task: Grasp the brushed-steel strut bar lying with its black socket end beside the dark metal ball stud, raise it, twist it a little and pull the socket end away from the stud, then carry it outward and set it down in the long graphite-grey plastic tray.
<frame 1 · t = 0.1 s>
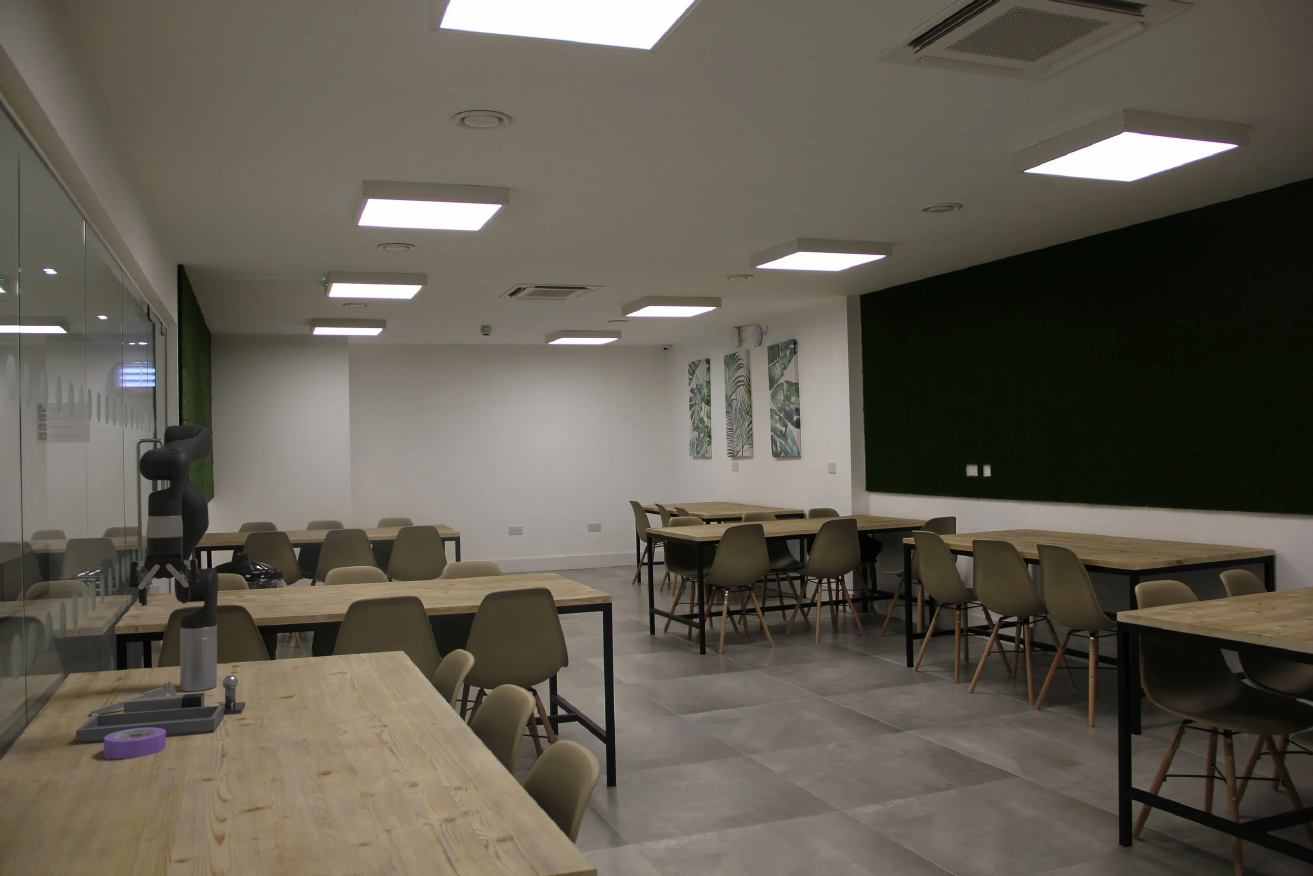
hand: (164, 604, 219), 29 cm above the table, tool pointing down, fingers open, 8 cm apart
tray: (153, 730, 217), on the table
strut: (162, 716, 230), on the table
ball stud: (230, 710, 234), on the table
masking tape: (135, 752, 201), on the table
caliper: (131, 711, 237), on the table
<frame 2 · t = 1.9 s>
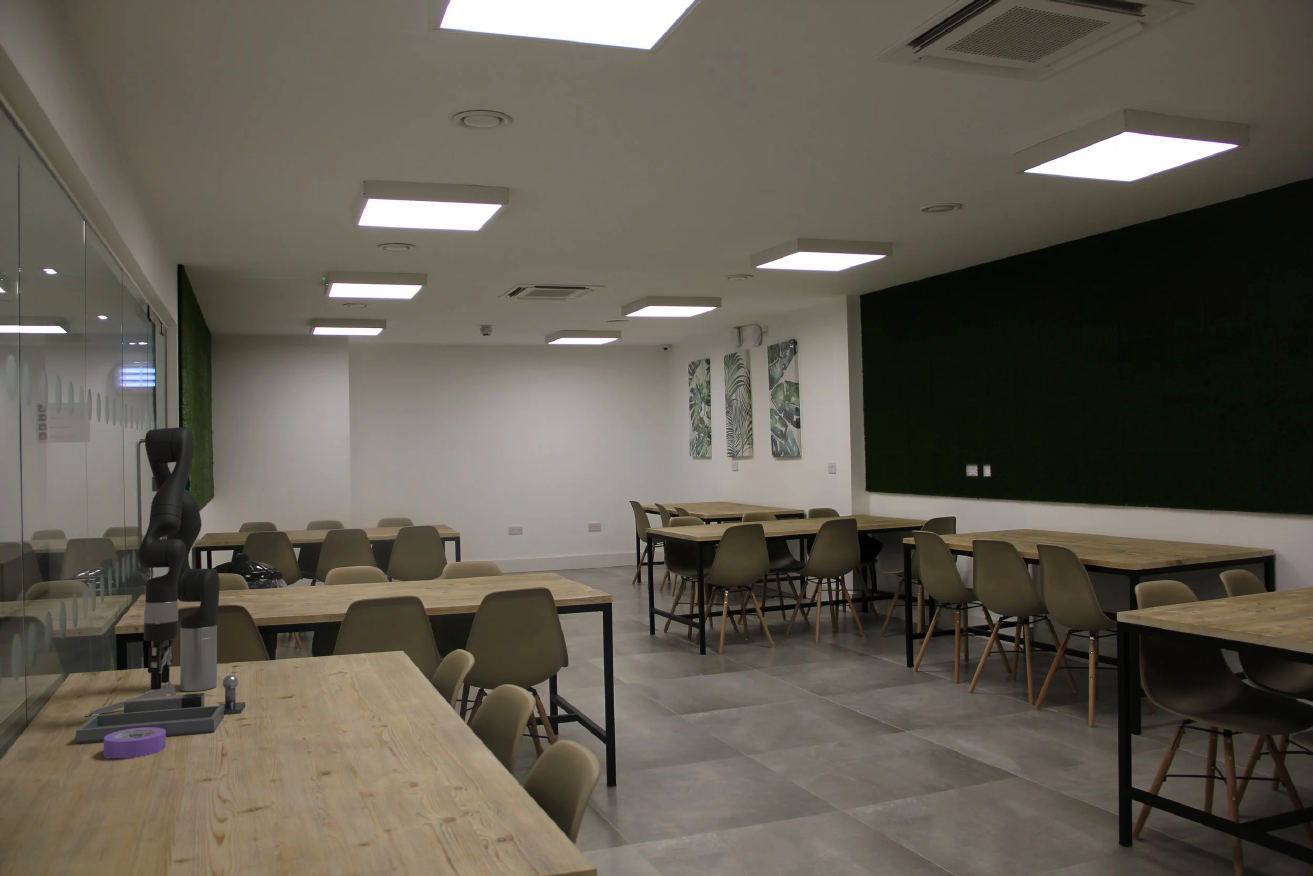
hand: (160, 686, 230), 7 cm above the table, tool pointing down, fingers open, 8 cm apart
nothing on the table moved.
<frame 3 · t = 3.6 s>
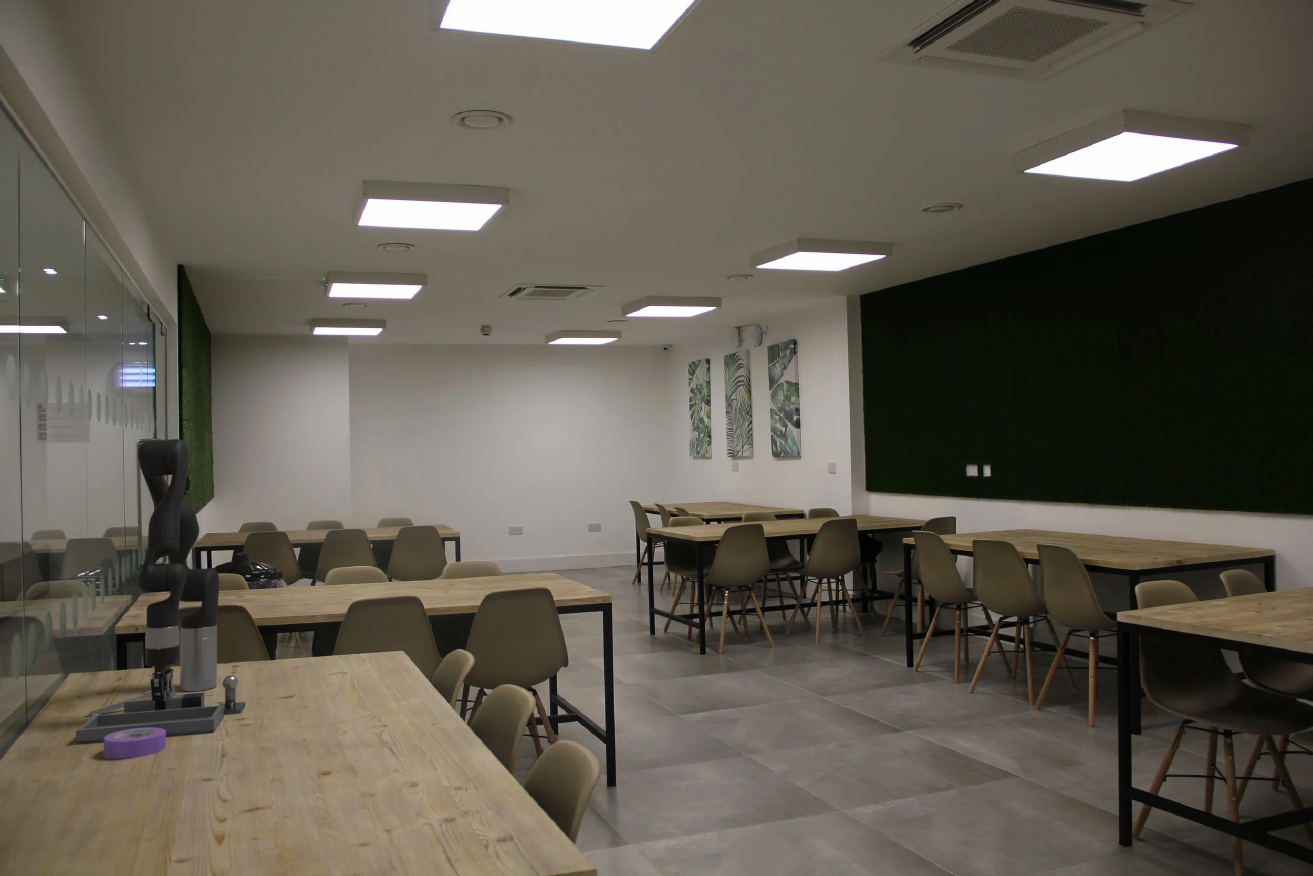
hand: (162, 714, 230), 0 cm above the table, tool pointing down, fingers closed on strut, 3 cm apart
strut: (161, 716, 230), on the table, touching gripper
everything else where it was.
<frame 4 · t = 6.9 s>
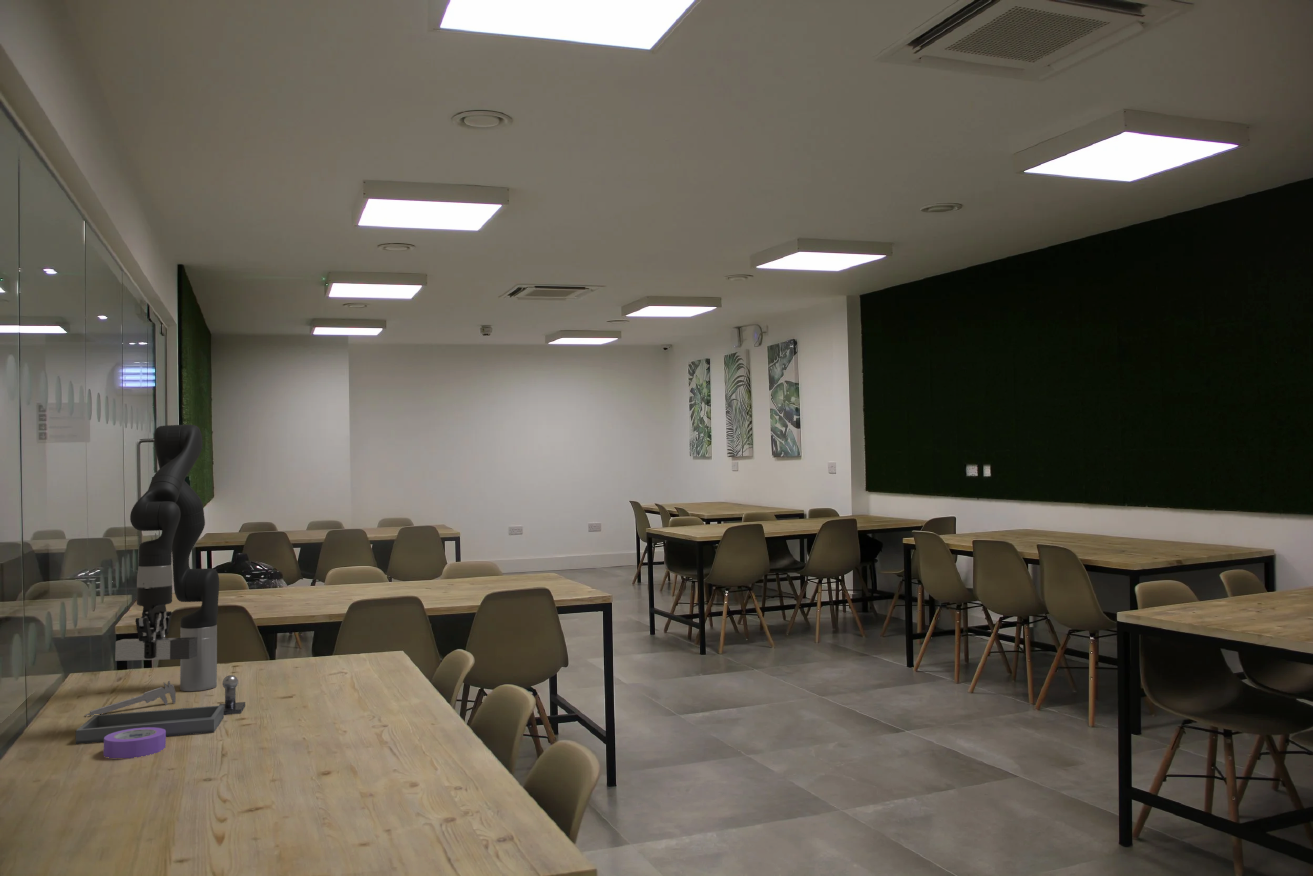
hand: (153, 656, 223), 16 cm above the table, tool pointing down, fingers closed on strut, 3 cm apart
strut: (153, 658, 223), point 16 cm above the table, touching gripper
everything else where it was.
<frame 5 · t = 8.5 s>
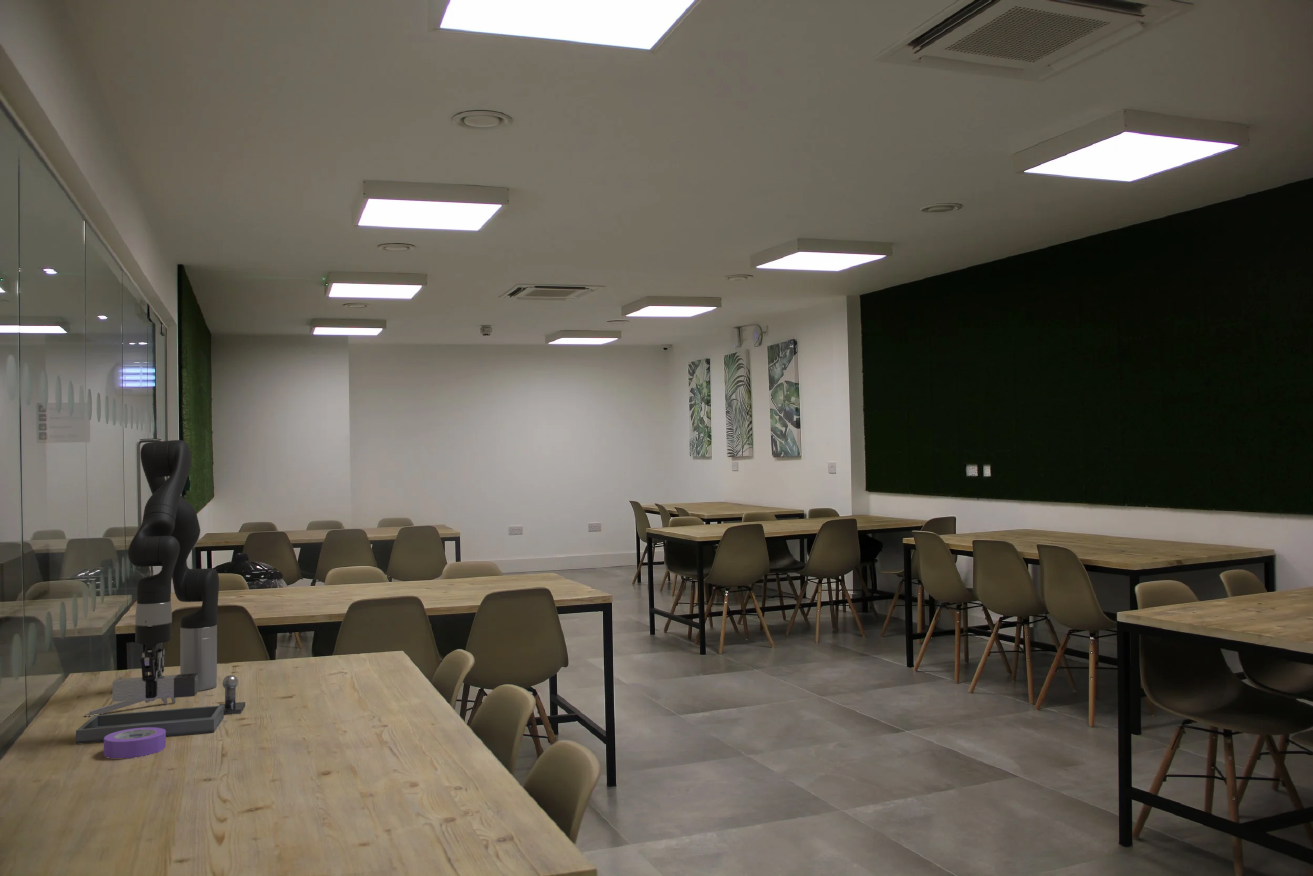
hand: (153, 695, 217), 8 cm above the table, tool pointing down, fingers closed on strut, 3 cm apart
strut: (152, 697, 217), point 8 cm above the table, touching gripper
everything else where it was.
when the fingers open (3 cm above the table, at t = 10.0 s): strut drops 2 cm, resting on tray.
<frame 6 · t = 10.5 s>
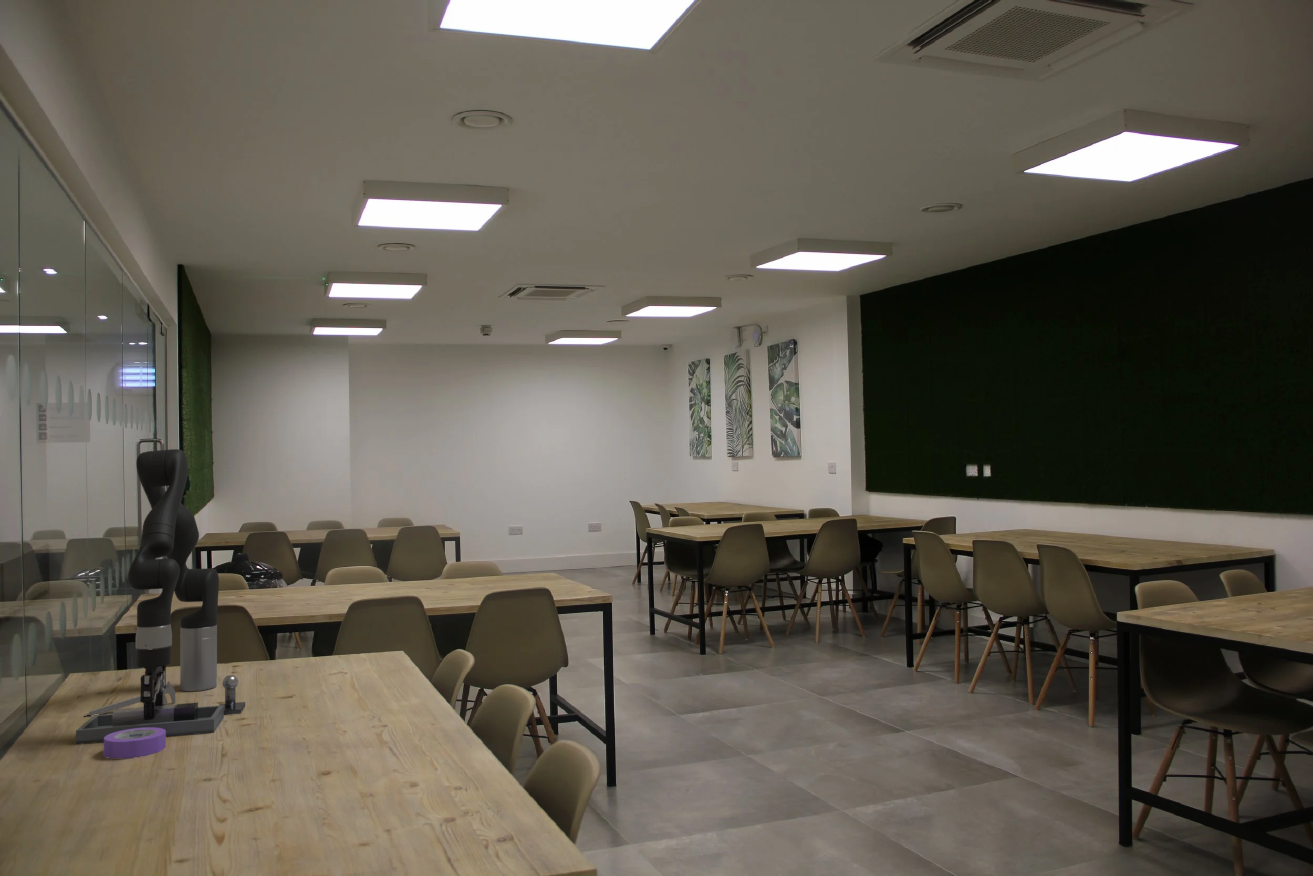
hand: (153, 714, 217), 4 cm above the table, tool pointing down, fingers open, 8 cm apart
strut: (152, 727, 217), point 1 cm above the table, touching tray
everything else where it was.
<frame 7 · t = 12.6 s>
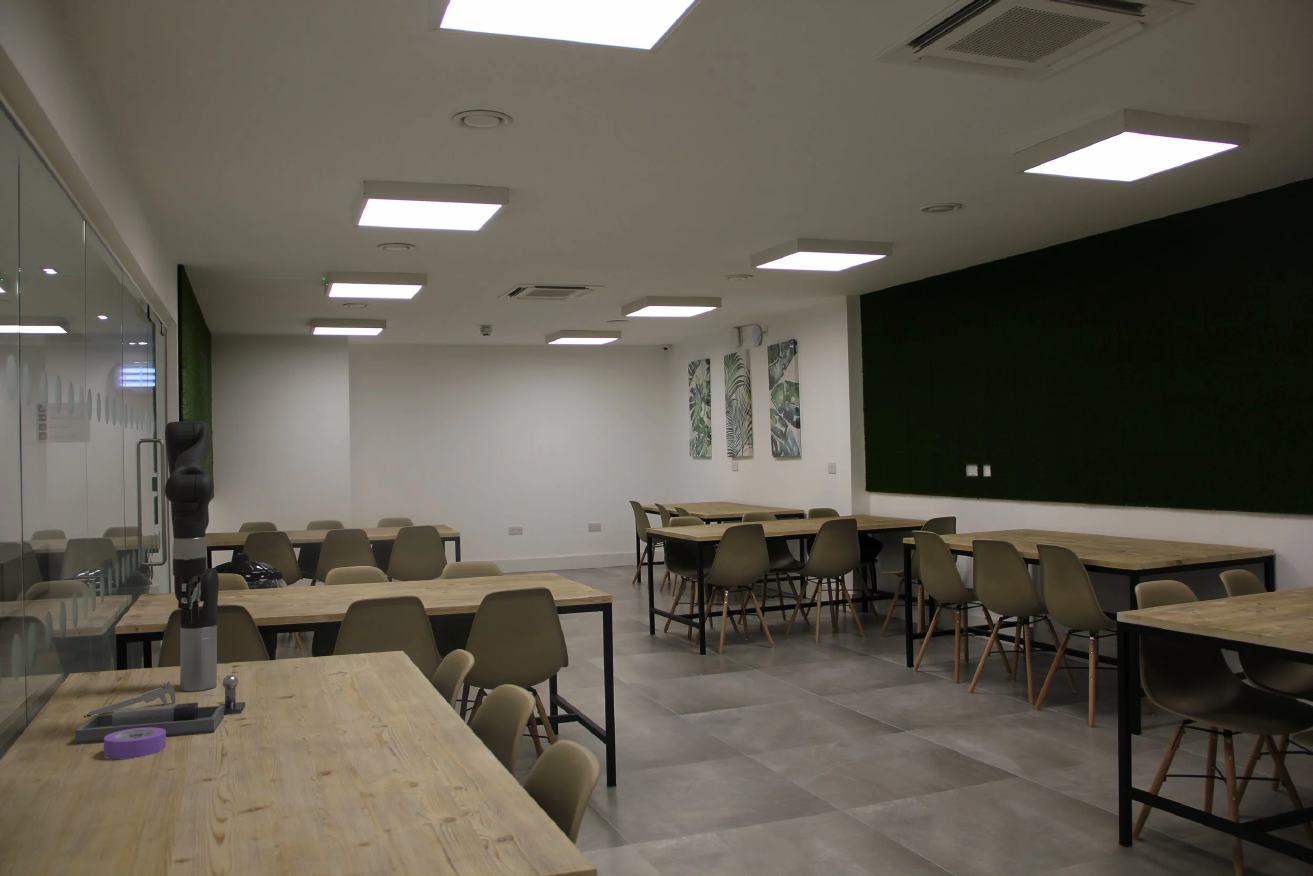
hand: (190, 621, 228), 23 cm above the table, tool pointing down, fingers open, 8 cm apart
nothing on the table moved.
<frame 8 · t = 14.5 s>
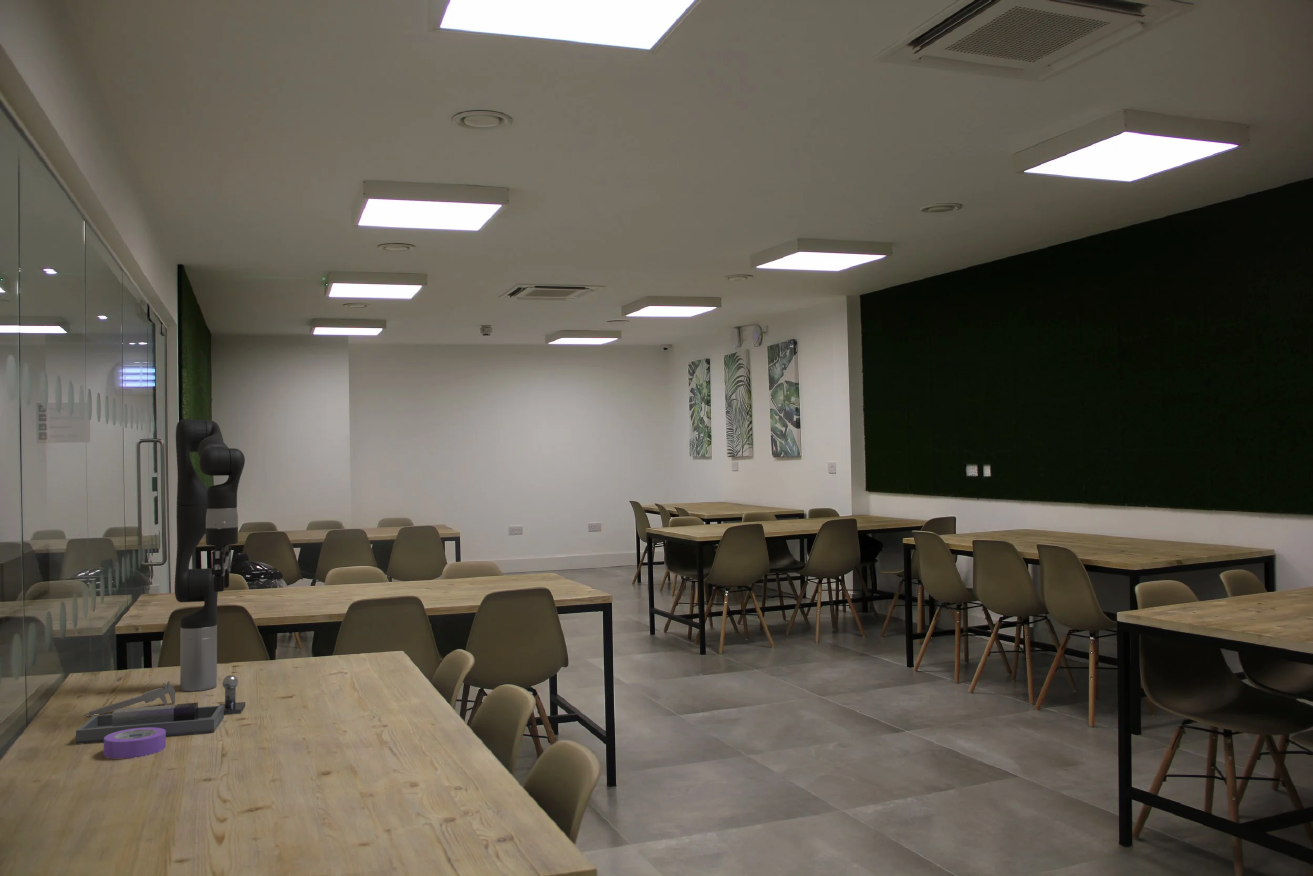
hand: (221, 589, 238), 30 cm above the table, tool pointing down, fingers open, 8 cm apart
nothing on the table moved.
at the end: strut inside the target area on the tray (0.1 cm from its centre), point 0.6 cm above the tray's base; the gripper is holding nothing; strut moved 13.9 cm from its start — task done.
